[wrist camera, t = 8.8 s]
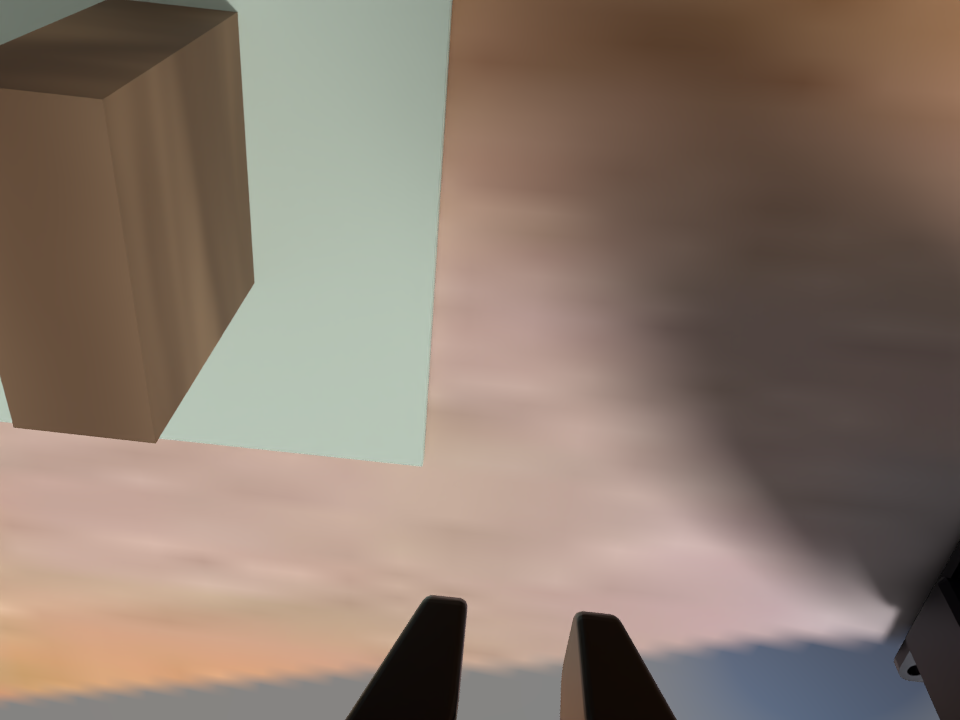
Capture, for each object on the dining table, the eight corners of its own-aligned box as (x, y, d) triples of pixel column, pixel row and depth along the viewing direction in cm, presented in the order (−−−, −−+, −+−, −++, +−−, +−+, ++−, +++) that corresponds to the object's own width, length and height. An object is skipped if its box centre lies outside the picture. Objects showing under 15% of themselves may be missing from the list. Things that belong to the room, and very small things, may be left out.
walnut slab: (237, 11, 16) (103, 99, 11) (254, 282, 20) (155, 443, 15) (110, -3, 16) (-80, 79, 11) (148, 271, 20) (13, 427, 15)
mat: (469, -282, 14) (468, -284, 14) (423, 457, 23) (422, 466, 22) (-359, -365, 14) (-382, -370, 14) (-88, 402, 23) (-97, 411, 23)
